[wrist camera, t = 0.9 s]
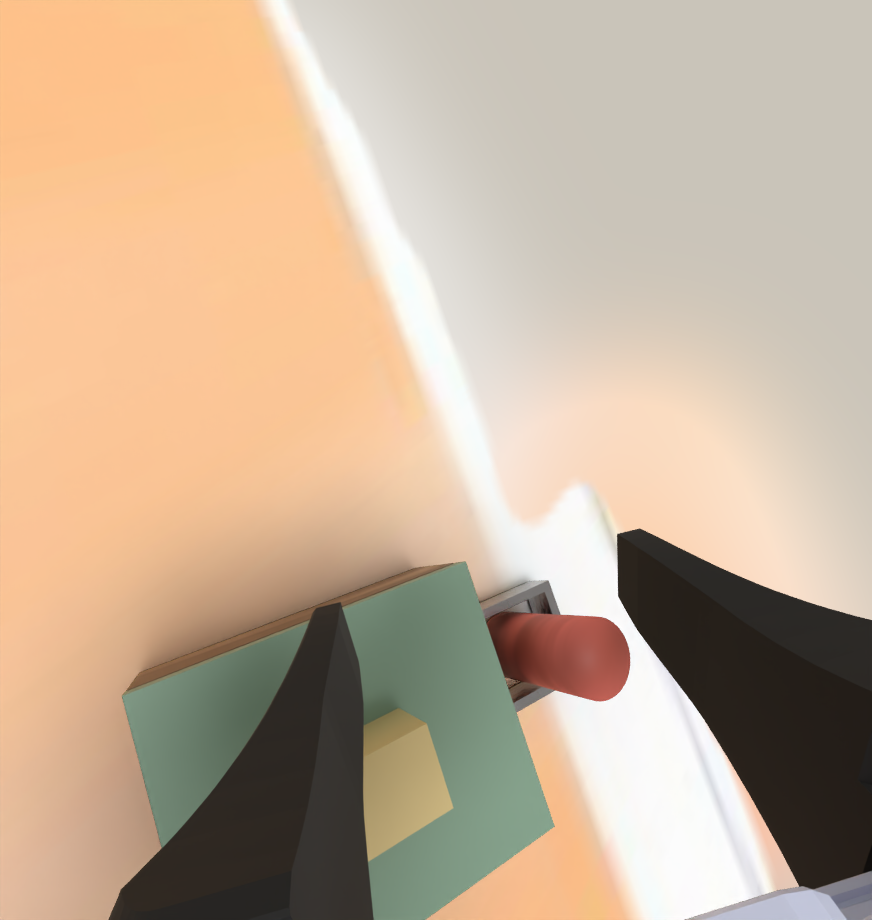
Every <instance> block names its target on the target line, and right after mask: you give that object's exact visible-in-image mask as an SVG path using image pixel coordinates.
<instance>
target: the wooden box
mask: <svg viewBox="0 0 872 920" xmlns="http://www.w3.org/2000/svg"><path fill="white" fill-rule="evenodd" d="M452 564H454V563H450V564H442V565H434V566H427V567H419V568H414V569H411V570H409V571H406V572H404V573H401V574H398V575H396V576H393V577H390V578H388V579H385V580H382V581H380V582H377V583H375V584H372V585H369V586H367V587H364V588H361V589H359V590H356V591H354V592H351V593H348V594H346V595H343V596H340V597H338V598H335V599H332V600H330V601H327V602H325V603H322V604H319V605H317V606H314V607H311V608H309V609H306V610H303V611H301V612H298V613H296V614H293V615H290V616H288V617H285V618H282V619H280V620H277V621H274V622H272V623H269V624H267V625H264V626H261V627H259V628H256V629H253V630H251V631H248V632H246V633H243V634H240V635H238V636H235V637H232V638H230V639H227V640H224V641H222V642H219V643H217V644H214V645H211V646H209V647H206V648H203V649H201V650H198V651H195V652H193V653H190V654H188V655H185V656H182V657H180V658H177V659H174V660H172V661H169V662H166V663H164V664H161V665H159V666H156V667H153V668H151V669H148V670H145V671H143V672H140V673H139V674H138V676H137V677H136V678H135V680H134V681H133V682H132V684H131V685H130V686H129V688H128V689H127V690H126V691H128V690H131V689H133V688H136V687H138V686H141V685H144V684H146V683H149V682H151V681H154V680H156V679H159V678H162V677H164V676H167V675H169V674H172V673H174V672H177V671H180V670H182V669H185V668H187V667H190V666H192V665H195V664H198V663H200V662H203V661H205V660H208V659H210V658H213V657H215V656H218V655H221V654H223V653H226V652H228V651H231V650H233V649H236V648H239V647H241V646H244V645H246V644H249V643H251V642H254V641H257V640H259V639H262V638H264V637H267V636H269V635H272V634H275V633H277V632H280V631H282V630H285V629H287V628H290V627H292V626H295V625H298V624H300V623H303V622H305V621H308V620H310V618H311V616H312V613H313V611H314V610H315V609H316V608H318V607H322V606H326V605H330V604H334V603H338V602H341V605H342V607H344V606H346V605H349V604H351V603H354V602H357V601H359V600H362V599H364V598H367V597H369V596H372V595H375V594H377V593H380V592H382V591H385V590H387V589H390V588H393V587H395V586H398V585H400V584H403V583H405V582H408V581H411V580H413V579H416V578H418V577H421V576H423V575H426V574H428V573H431V572H434V571H436V570H439V569H441V568H444V567H446V566H449V565H452Z"/></svg>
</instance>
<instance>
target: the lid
mask: <svg viewBox="0 0 872 920" xmlns="http://www.w3.org/2000/svg"><path fill="white" fill-rule="evenodd" d="M342 608H343V612H344V615H345V618H346V621H347V625H348V628H349V631H350V634H351V638H352V641H353V644H354V647H355V651H356V654H357V657H358V660H359V665H360V674H361V683H362V692H363V702H364V748H363V801H364V821H365V832H366V844H367V855H368V866H369V877H370V887H371V897H372V908H373V917H374V920H425V919H427V918H428V917H430V916H431V915H432V914H434V913H435V912H437V911H438V910H439V909H441V908H442V907H444V906H445V905H446V904H448V903H449V902H450V901H452V900H453V899H455V898H456V897H457V896H459V895H460V894H462V893H463V892H464V891H466V890H467V889H468V888H470V887H471V886H473V885H474V884H475V883H477V882H478V881H480V880H481V879H482V878H484V877H485V876H487V875H488V874H489V873H491V872H492V871H493V870H495V869H496V868H498V867H499V866H500V865H502V864H503V863H505V862H506V861H507V860H509V859H510V858H512V857H513V856H514V855H516V854H517V853H518V852H520V851H521V850H523V849H524V848H525V847H527V846H528V845H530V844H531V843H532V842H534V841H535V840H536V839H538V838H539V837H541V836H542V835H543V834H545V833H546V832H548V831H549V830H550V829H552V828H553V827H555V826H554V823H553V820H552V817H551V814H550V811H549V808H548V805H547V802H546V800H545V797H544V794H543V791H542V788H541V785H540V782H539V779H538V776H537V773H536V770H535V767H534V764H533V761H532V758H531V755H530V752H529V749H528V746H527V743H526V740H525V737H524V734H523V731H522V728H521V725H520V722H519V719H518V716H517V713H516V710H515V707H514V704H513V701H512V698H511V695H510V692H509V689H508V686H507V683H506V680H505V677H504V674H503V671H502V668H501V665H500V662H499V660H498V657H497V654H496V651H495V648H494V645H493V642H492V639H491V636H490V633H489V630H488V627H487V624H486V621H485V618H484V615H483V612H482V609H481V606H480V603H479V600H478V597H477V594H476V591H475V588H474V585H473V582H472V579H471V576H470V573H469V570H468V567H467V564H466V561H465V562H458V563H454V564H452V565H449V566H446V567H444V568H441V569H439V570H436V571H434V572H431V573H428V574H426V575H423V576H421V577H418V578H416V579H413V580H411V581H408V582H405V583H403V584H400V585H398V586H395V587H393V588H390V589H387V590H385V591H382V592H380V593H377V594H375V595H372V596H369V597H367V598H364V599H362V600H359V601H357V602H354V603H351V604H349V605H346V606H344V607H342ZM309 621H310V620H308V621H305V622H303V623H300V624H298V625H295V626H292V627H290V628H287V629H285V630H282V631H280V632H277V633H275V634H272V635H269V636H267V637H264V638H262V639H259V640H257V641H254V642H251V643H249V644H246V645H244V646H241V647H239V648H236V649H233V650H231V651H228V652H226V653H223V654H221V655H218V656H215V657H213V658H210V659H208V660H205V661H203V662H200V663H198V664H195V665H192V666H190V667H187V668H185V669H182V670H180V671H177V672H174V673H172V674H169V675H167V676H164V677H162V678H159V679H156V680H154V681H151V682H149V683H146V684H144V685H141V686H138V687H136V688H133V689H131V690H128V691H126V692H125V693H124V694H123V695H122V698H123V702H124V706H125V710H126V714H127V717H128V721H129V725H130V729H131V733H132V736H133V740H134V744H135V748H136V752H137V755H138V759H139V763H140V767H141V771H142V774H143V778H144V782H145V786H146V790H147V793H148V797H149V801H150V805H151V809H152V812H153V816H154V820H155V824H156V828H157V831H158V835H159V839H160V843H161V847H162V848H163V847H164V846H165V845H166V844H167V842H168V841H169V840H170V839H171V838H172V837H173V836H174V835H175V834H176V833H177V832H178V830H179V829H180V828H181V827H182V826H183V825H184V824H185V823H186V821H187V820H188V819H189V818H190V817H191V816H192V814H193V813H194V812H195V811H196V810H197V808H198V807H199V806H200V805H201V804H202V802H203V801H204V800H205V799H206V798H207V797H208V795H209V794H210V793H211V792H212V790H213V789H214V788H215V786H216V785H217V784H218V782H219V781H220V780H221V779H222V777H223V776H224V775H225V773H226V772H227V770H228V769H229V768H230V766H231V765H232V763H233V762H234V761H235V759H236V758H237V756H238V755H239V754H240V752H241V751H242V749H243V748H244V746H245V745H246V743H247V742H248V740H249V739H250V737H251V736H252V734H253V733H254V731H255V729H256V728H257V726H258V725H259V723H260V721H261V720H262V718H263V716H264V715H265V713H266V711H267V709H268V708H269V706H270V704H271V702H272V700H273V698H274V696H275V695H276V693H277V691H278V689H279V687H280V685H281V684H282V682H283V680H284V678H285V676H286V674H287V671H288V669H289V667H290V665H291V663H292V661H293V659H294V657H295V655H296V652H297V650H298V648H299V646H300V643H301V641H302V639H303V636H304V634H305V631H306V629H307V626H308V624H309Z"/></svg>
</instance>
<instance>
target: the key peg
mask: <svg viewBox="0 0 872 920" xmlns="http://www.w3.org/2000/svg"><path fill="white" fill-rule="evenodd" d="M487 627H488V630H489V633H490V636H491V639H492V642H493V645H494V648H495V651H496V654H497V657H498V660H499V662H500V665H501V668H502V671H503V674H504V677H507V678H511V679H515V680H518V681H522V682H526V683H530V684H533V685H537V686H541V687H545V688H548V689H552V690H556V691H560V692H563V693H567V694H571V695H575V696H578V697H582V698H586V699H590V700H594V701H606V700H609V699H611V698H613V697H614V696H616V695H617V694H618V693H619V692H620V691H621V689H622V688H623V686H624V685H625V683H626V680H627V678H628V674H629V669H630V653H629V648H628V644H627V641H626V639H625V637H624V635H623V633H622V632H621V630H620V629H619V628H618V627H617V626H616V625H615V624H614V623H613V622H611V621H610V620H608V619H606V618H602V617H593V616H574V615H556V614H537V613H518V612H502V613H499V614H497V615H495V616H493V617H492V618H491V619H490V620H489V621H488V622H487Z"/></svg>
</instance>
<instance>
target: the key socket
mask: <svg viewBox="0 0 872 920" xmlns="http://www.w3.org/2000/svg"><path fill="white" fill-rule="evenodd" d="M526 600H529V603H530V606H531V609H532V612H533V613H537V614H556V615H560V612H559V609H558V606H557V603H556V601H555V598H554V595H553V592H552V589H551V586H550V584H549V581H548V580H545V581H529V582H526V583H524V584H522V585H520V586H517V587H515V588H513V589H510V590H508V591H506V592H504V593H501V594H499V595H497V596H495V597H492V598H490V599H488V600H485V601H483V602H481V603H480V606H481V609H482V612H483V615H484V618H485V619H486V618H488V617H491V616H493V615H495V614H497V613H499V612H502V611H504V610H506V609H508V608H510V607H512V606H515V605H517V604H519V603H521V602H523V601H526ZM553 691H555V690H552V689H548V688H545V687H541V686H537V685H533V684H530V683H526V682H521V683H519V684H518V685H516V686H514V687H512V688H510V689H509V692H510V695H511V698H512V701H513V704H514V707H515V710H516V712H518V711H520V710H522V709H523V708H525V707H527V706H529V705H530V704H532V703H534V702H536V701H537V700H539V699H541V698H543V697H544V696H546V695H548V694H550V693H551V692H553Z"/></svg>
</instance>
